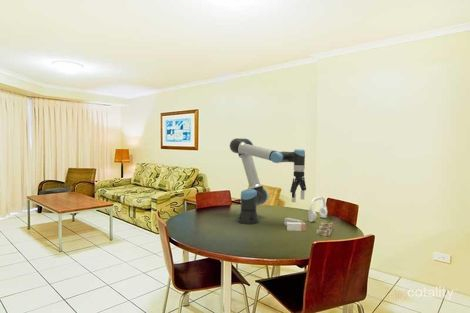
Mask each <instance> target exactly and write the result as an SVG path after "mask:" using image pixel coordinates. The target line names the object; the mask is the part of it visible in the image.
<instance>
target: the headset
mask: <svg viewBox="0 0 470 313" xmlns="http://www.w3.org/2000/svg"><path fill="white" fill-rule="evenodd" d="M320 200H322V203H323V206H322V207H320V208H319V210H318V211H319V215H320V217H322V218H321V219H325V218H327V216H328V207H327V203H326V199H325V198H324V197H323V196H316V197H313V198H312V200H310V205H309V209H308V213H307V216H308V222H310V223H311V222H313V221H315V220H316V219H317V212H316V211H315V210H313V205H314V202H315V201H320ZM320 217H319V218H320Z"/></svg>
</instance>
